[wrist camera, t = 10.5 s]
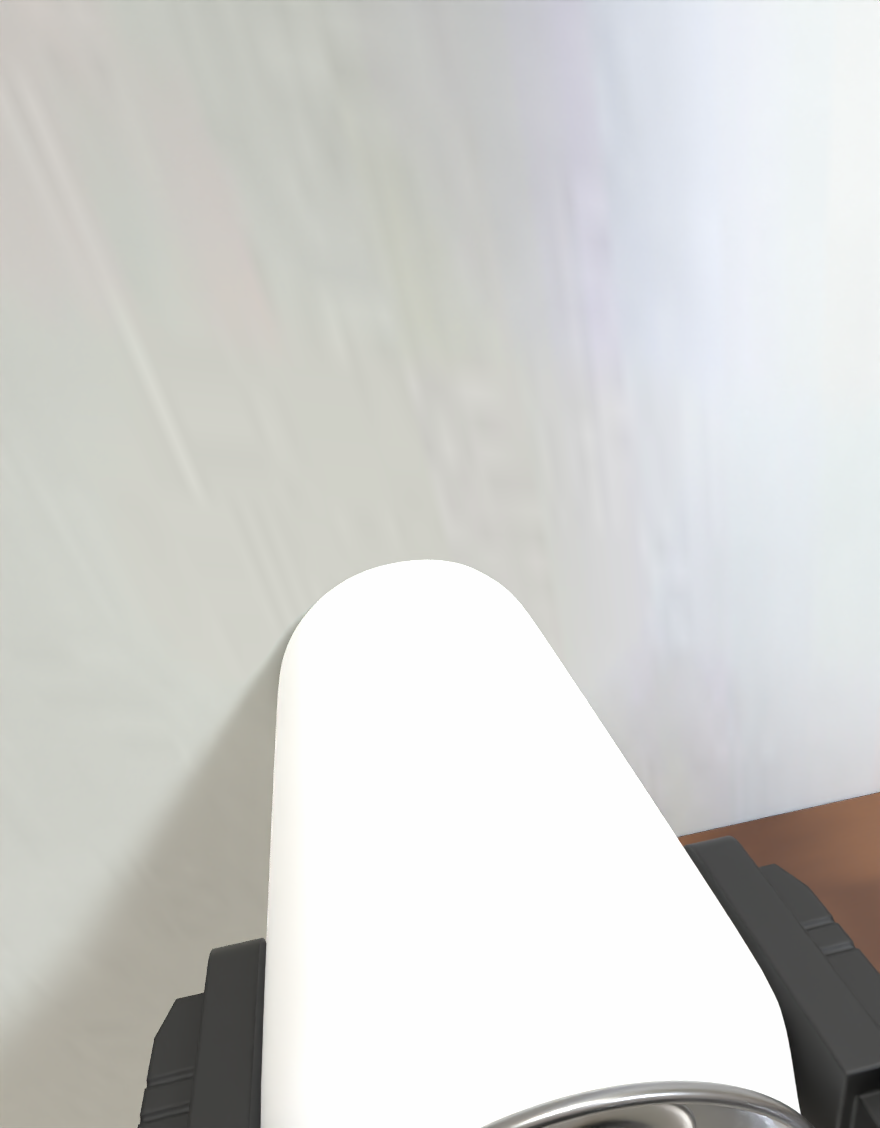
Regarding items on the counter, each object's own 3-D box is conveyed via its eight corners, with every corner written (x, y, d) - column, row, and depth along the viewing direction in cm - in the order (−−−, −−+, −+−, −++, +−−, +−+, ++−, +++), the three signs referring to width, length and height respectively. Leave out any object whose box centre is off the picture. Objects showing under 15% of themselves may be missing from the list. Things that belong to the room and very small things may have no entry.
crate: (565, 1145, 27) (633, 1371, 21) (548, 864, 21) (633, 1070, 16) (902, 1054, 28) (1045, 1242, 23) (964, 772, 23) (1170, 929, 18)
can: (555, 555, 18) (971, 1025, 7) (519, 776, 20) (785, 1391, 9) (280, 547, 16) (248, 1114, 6) (276, 785, 19) (247, 1513, 8)
